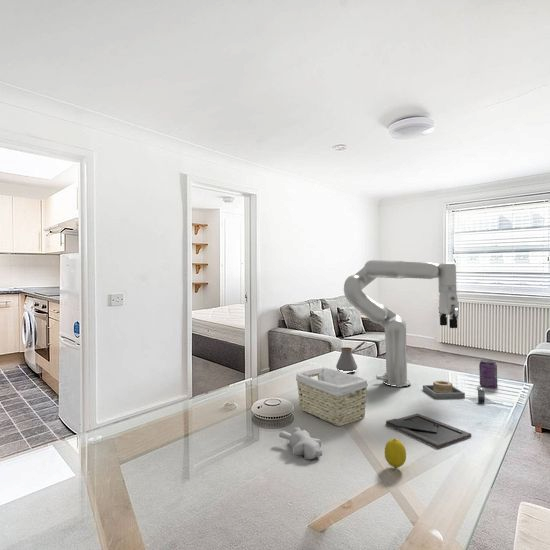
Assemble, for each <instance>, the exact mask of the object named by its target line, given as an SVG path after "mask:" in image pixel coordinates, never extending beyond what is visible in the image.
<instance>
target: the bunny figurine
mask: <svg viewBox="0 0 550 550" xmlns="http://www.w3.org/2000/svg"><path fill="white" fill-rule="evenodd" d="M293 431H294V432H292V433H290V432H287V431H285V430H280V432H279V434H278V437H279V438H282V439H286V440H288V441H289V444H290V447H291V450H292V455H294V456H295V455H299V456H303V458H304V459H305V460H313V459H316V458H319V457H321V456H323V451H322V449H321V446H322V440H321V439H320V438H315V437H311V434H310V433H309V432H308V430H305V429H304V430H301V428H300V427H299V426H296V427H294V428H293Z"/></svg>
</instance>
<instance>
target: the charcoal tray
mask: <svg viewBox="0 0 550 550" xmlns="http://www.w3.org/2000/svg"><path fill="white" fill-rule="evenodd" d="M422 390H423V391H424V392H425V393H426V394H428V395H429V396H431V397H432V398H433V399H440V400H441V399H465V398H466V395H465V394H466V393H465V392H463V391H462V390H460V389H458V388H457V387H455V386H453V385H452V391H453V393H435V392H434V391H433V384H423V385H422Z"/></svg>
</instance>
